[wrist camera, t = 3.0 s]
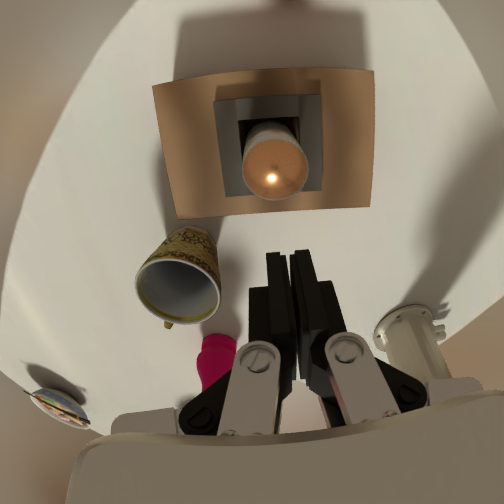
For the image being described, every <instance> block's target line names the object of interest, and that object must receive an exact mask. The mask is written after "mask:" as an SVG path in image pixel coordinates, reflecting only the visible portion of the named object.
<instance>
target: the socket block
mask: <svg viewBox="0 0 504 504" xmlns="http://www.w3.org/2000/svg"><path fill="white" fill-rule="evenodd" d="M152 89H153V96H154V102H155V108H156V114H157V120H158V126H159V132H160V137H161V143H162V148H163V153H164V158H165V163H166V168H167V173H168V178H169V183H170V188H171V192H172V197H173V201H174V206H175V210H176V214H177V219H178V220H184V219H194V218H205V217H216V216H228V215H240V214H253V213H267V212H282V211H298V210H315V209H335V208H357V207H370V201H371V189H372V176H373V159H374V134H375V86H374V71H369V70H357V69H341V68H275V69H259V70H247V71H236V72H228V73H220V74H212V75H205V76H199V77H193V78H187V79H182V80H177V81H172V82H167V83H162V84H158V85H154V86H152ZM274 117H290V131H291V133H292V134H293V136H294V137H295V139H296V141H297V142H298V144H299V146H300V147H301V149H302V150H303V152H304V154H305V156H306V158H307V161H308V166H309V173H308V177H307V180H306V182H305V184H304V186H303V187H302V188H301V190H300V191H299V192H297V193H296V194H295V195H293V196H291V197H290V198H287V199H284V200H278V201H272V200H266V199H263V198H260V197H258V196H257V195H255V194H254V193H253V192H251V191H250V190H249V188H248V187H247V186H246V184H245V182H244V180H243V177H242V161H243V155H244V149H245V134H244V124H243V120H247V119H259V118H274Z"/></svg>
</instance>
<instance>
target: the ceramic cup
mask: <svg viewBox="0 0 504 504" xmlns="http://www.w3.org/2000/svg"><path fill="white" fill-rule="evenodd" d="M135 291H136V294H137V297H138V299H139V300H140V302H141V303H142V305H143V306H144V307H145V308H146V309H147V310H148V311H149V312H151V313H152V314H153V315H155V316H156V317H158V318H160V319H162V320H164V327H165V328H167V329H171V327H172V326H173V324H181V325H192V324H198V323H201V322H204V321H206V320H208V319H210V318H211V317H212V316H213V315H214V314H215V313H216V312H217V310H218V309H219V306H220V303H221V282H220V274H219V269H218V257H217V247H216V245H215V243H214V242H213V240H212V238H211V237H210V235H209V233H208V232H207V231H206V230H204V229H201V228H198V227H195V226H192V225H188V226H185V227H183V228H181V229H178V230H176V231H174V232H172V233H171V234H170V235H169V236H168V237H167V238H166V239H165V241H164V242H163V243H162V244H161V245H160V246H159V247H158V249H157V250H156V251H155V252H153V253H152V254H151V255H150V257H149V258H148V259H147V260H146V261H145V262H144V264H143V265H142V267H141V268H140V269H139V271H138V273H137V275H136V278H135Z"/></svg>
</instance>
